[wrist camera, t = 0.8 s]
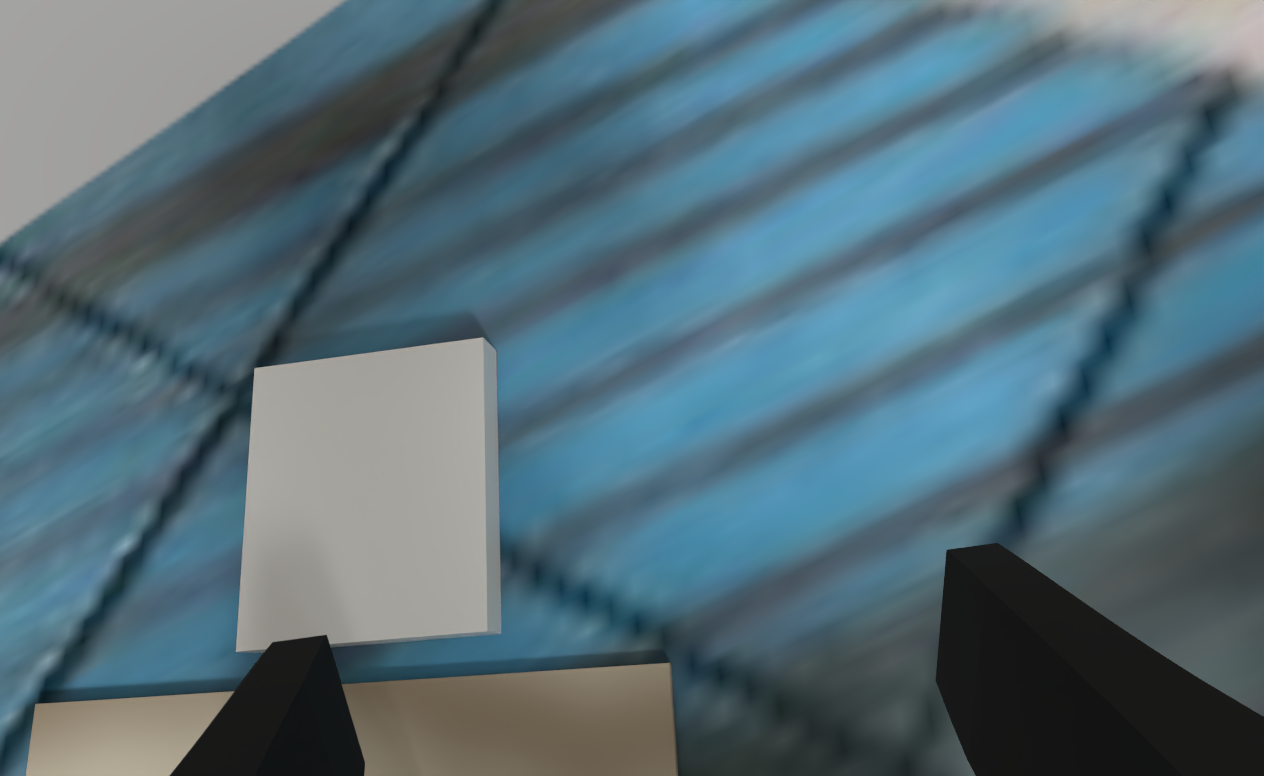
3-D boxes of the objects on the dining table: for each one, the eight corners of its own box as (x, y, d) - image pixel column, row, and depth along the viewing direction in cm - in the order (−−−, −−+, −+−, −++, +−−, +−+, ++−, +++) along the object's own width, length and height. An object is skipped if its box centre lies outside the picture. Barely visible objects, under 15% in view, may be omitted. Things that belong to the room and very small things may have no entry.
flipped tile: (507, 635, 26) (487, 631, 24) (268, 654, 27) (235, 651, 26) (501, 356, 28) (483, 337, 27) (283, 384, 30) (254, 368, 28)
